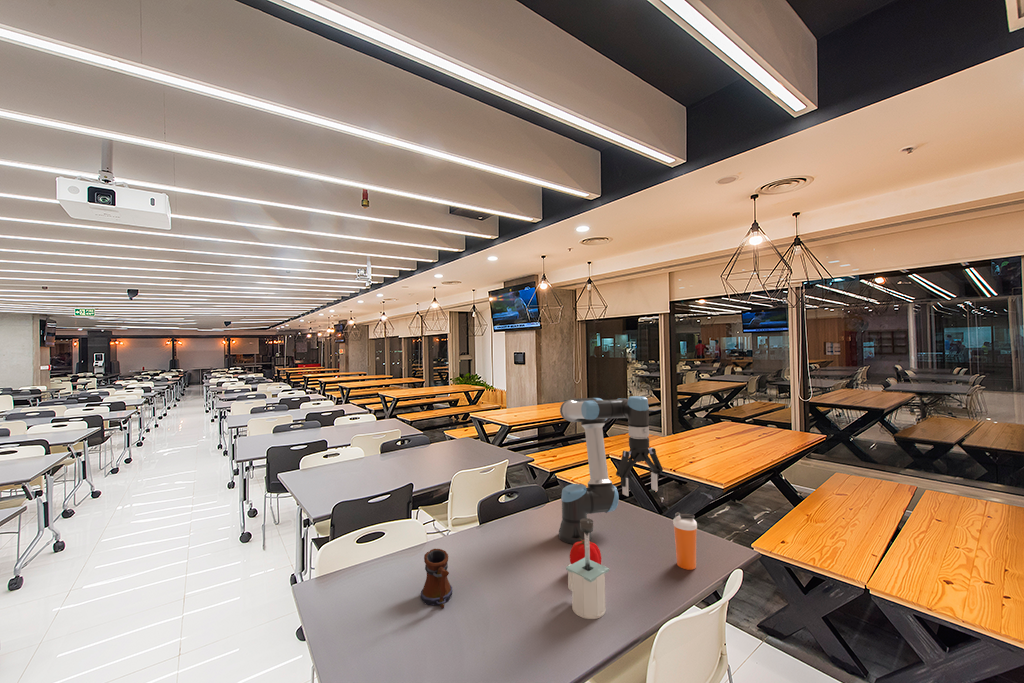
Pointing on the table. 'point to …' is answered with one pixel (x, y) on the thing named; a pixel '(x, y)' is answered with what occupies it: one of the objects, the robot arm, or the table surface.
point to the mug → (436, 578)
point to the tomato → (579, 552)
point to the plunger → (586, 539)
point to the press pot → (587, 589)
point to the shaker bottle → (685, 540)
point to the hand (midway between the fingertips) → (640, 492)
